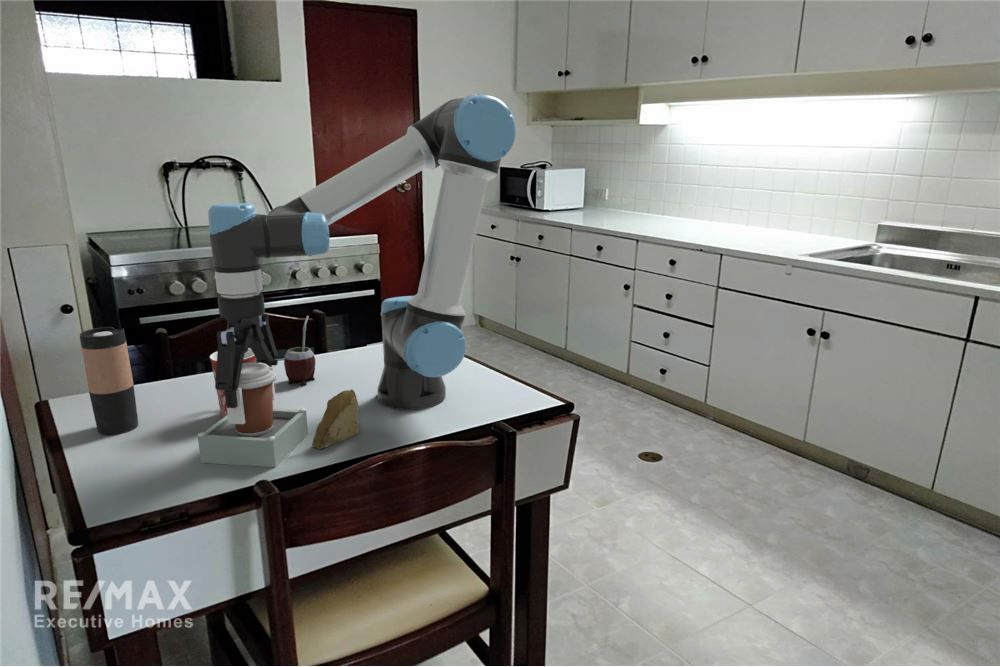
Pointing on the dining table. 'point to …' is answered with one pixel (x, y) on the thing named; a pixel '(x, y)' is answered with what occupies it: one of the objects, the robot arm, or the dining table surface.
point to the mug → (248, 358)
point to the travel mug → (109, 380)
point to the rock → (338, 420)
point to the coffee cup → (256, 399)
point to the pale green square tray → (254, 441)
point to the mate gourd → (300, 363)
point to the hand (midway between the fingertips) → (253, 410)
